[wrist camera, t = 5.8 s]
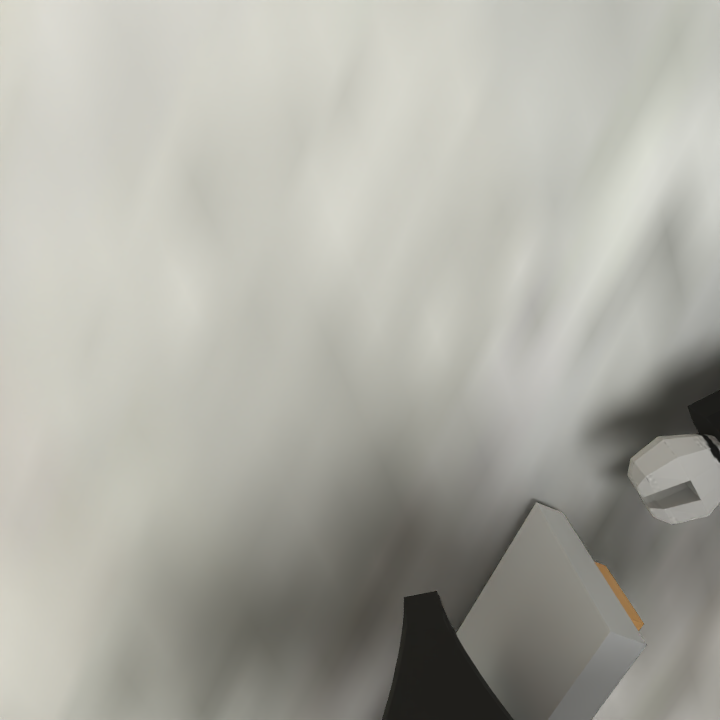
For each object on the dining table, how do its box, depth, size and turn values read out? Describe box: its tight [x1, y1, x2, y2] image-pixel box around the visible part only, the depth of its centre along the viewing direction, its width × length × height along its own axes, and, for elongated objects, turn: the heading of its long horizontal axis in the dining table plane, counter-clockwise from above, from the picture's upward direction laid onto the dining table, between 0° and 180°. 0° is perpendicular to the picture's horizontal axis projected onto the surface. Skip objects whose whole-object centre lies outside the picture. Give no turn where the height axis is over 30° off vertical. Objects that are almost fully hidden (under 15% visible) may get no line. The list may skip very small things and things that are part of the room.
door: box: [456, 502, 647, 720], centre depth 12 cm, size 2×8×4 cm, turn 156°
